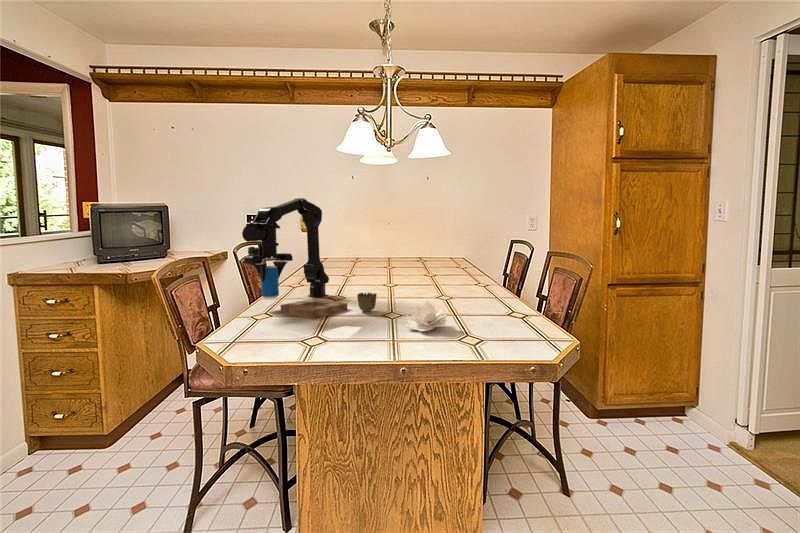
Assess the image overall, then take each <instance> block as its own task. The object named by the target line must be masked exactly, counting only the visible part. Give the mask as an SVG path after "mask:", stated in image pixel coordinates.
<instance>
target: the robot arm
mask: <svg viewBox="0 0 800 533" xmlns="http://www.w3.org/2000/svg"><path fill="white" fill-rule="evenodd" d="M296 211H297V213H298V214H299V215H301V217H302V222H303V224H304V225H305V227H306V238H307V239H306V240H307V262H306V263H305V264H304V263H303V274H304V276H305V277H304V278H305V280H306V283H307V284H309V294H308V295H307V297H309V298H310V297H311V298H316V299H320V298H323V297H328V296H329V294H326V284H329V280H330V278H329V276H328V274H327V273H326V271H325V268H324V264H323V263H322V261H321V258H320V256H321V255H320V239H319V238H320V237H319V236H320V235H319V227H320V225H321V223H322V220H323V219H322V218H323V211H322V209H321V208H320V207H319V206H317V204H314V203H312V202H310V201H308V200H307V199H306V198H303V197H300V198H299V197H298V198H296V197H295V198H294V199H292V200H290V201H287V202H284V203H281V204H279V205H276V206H269V207H268V206H267V207H260V208H259V209H258V212H257V213H256V216H255V217H254V219H253V221H252V222H246V223H245V227H243V230H242V233H241V235H242V238H243V240H244V241H246V242H258V247H255V246H249V247H248V249H247V254H248V255H246V256H245V257H244V264H247V265H248V264H250V266H253V267H254V268H255V270H256V272H257V274H258V277H259V278H260V282H261V281H262V282H264V279H265V269H266V266H267V264H266V263H264V262H270V261H272V263H273V266H277V269H278V280H279V279H280V278H281V277H280V276H281V274H282V272H283V270H284V268H285V267H286V264H288V262H289V261H290V262H293V255H292V254H291V253H285V252H283V253H278V249H277V247H279V245H280V244H279V242H277V229H281V226H280V225H279V224H278V223H277V222H278V221H280V220H281V219H282V218H283V216H285V215H288V214H290V213H292V212H296Z"/></svg>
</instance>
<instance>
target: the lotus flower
mask: <svg viewBox="0 0 800 533" xmlns="http://www.w3.org/2000/svg"><path fill="white" fill-rule="evenodd" d="M432 304H433V303H431V302H429V301H425V302H424V303H423V305H422V306H419V305H418V306H417V307H416V306H415V305H413V307H414V309H415V311H414V310H412V309H410V311H409V312H410V315H411V316H412V317H411V316H410V315H408V314H406V316H407V318H409V319H407V322H408V323H407V324H405V326H404V327H405V328H407V329H411V330H414V331H418V332H426V331H427V332H428V331H431V330H433V329H434V328H438V327H442V326H445V325H446V323H448V319H446V318H447V316H448V314H445V315H442V313H443V311H444V309H442V310H440V311H438V309H437V308H436V306H435V305H432Z"/></svg>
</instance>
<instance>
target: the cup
mask: <svg viewBox="0 0 800 533" xmlns="http://www.w3.org/2000/svg"><path fill="white" fill-rule="evenodd" d="M356 295H357V296H356V297H357V303H358V307H359V309H360V310H361V311H362V312H361V313H362V314H371V313H373V311H374V309H375V308H376V303H377V292H376V293H375V292H373V293H372V292H358V293H357V294H356Z"/></svg>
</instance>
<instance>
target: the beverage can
mask: <svg viewBox="0 0 800 533" xmlns="http://www.w3.org/2000/svg"><path fill="white" fill-rule="evenodd" d="M260 284H261V285H260V288H261V297H263V299H276V298H277V297H279V295H280V294H279V293H280V291H279V286H280V285H279V279H278V269H277V266H275V265H266V269H265V279H264V282H262V281H261V280H260Z"/></svg>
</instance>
